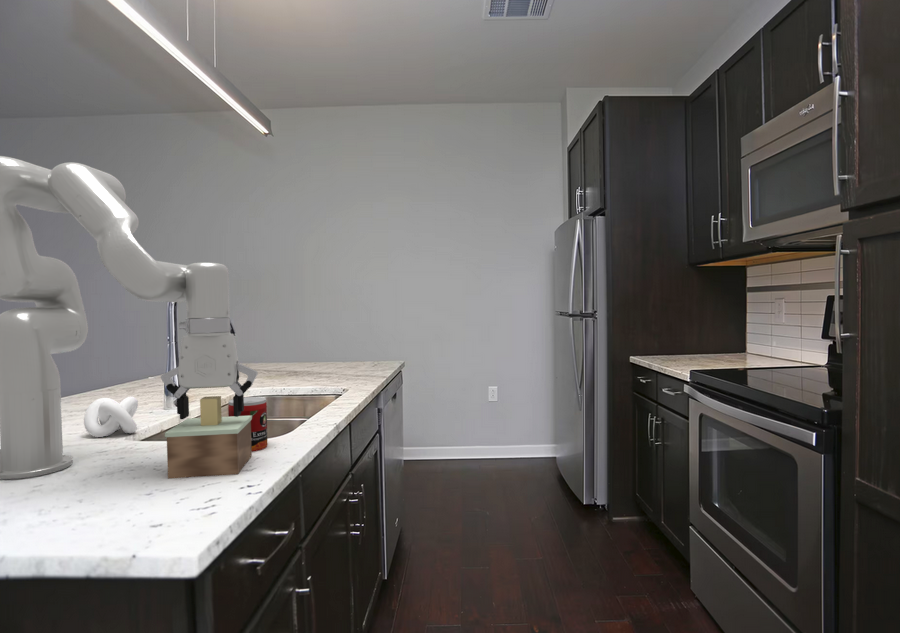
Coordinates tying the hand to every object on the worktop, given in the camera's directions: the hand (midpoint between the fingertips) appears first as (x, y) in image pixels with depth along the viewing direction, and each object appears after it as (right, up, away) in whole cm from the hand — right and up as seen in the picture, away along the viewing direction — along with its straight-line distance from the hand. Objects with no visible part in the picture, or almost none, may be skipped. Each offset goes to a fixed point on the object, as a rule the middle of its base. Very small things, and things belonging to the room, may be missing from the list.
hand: (211, 416), depth 103 cm
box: (0, -10, 0) cm, 10 cm away
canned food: (+2, -10, +14) cm, 17 cm away
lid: (0, -2, 0) cm, 2 cm away
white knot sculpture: (-38, -10, +32) cm, 51 cm away
